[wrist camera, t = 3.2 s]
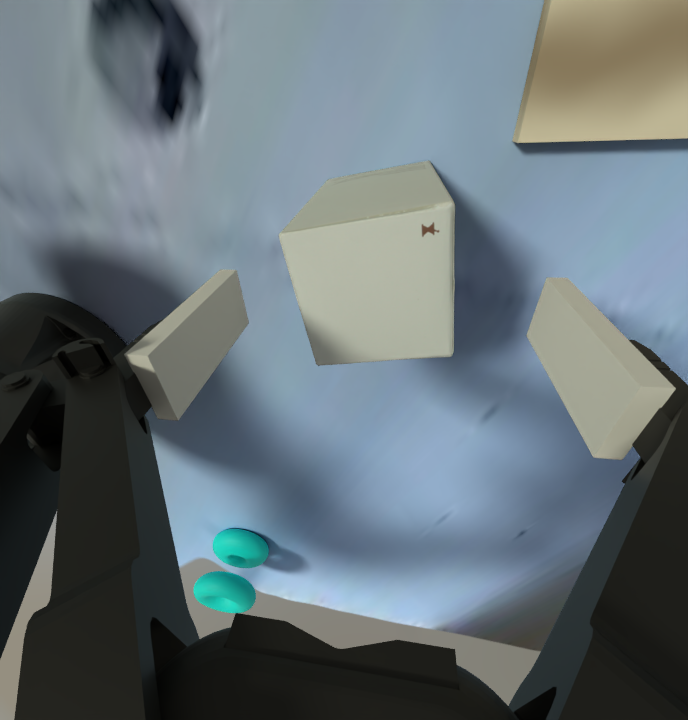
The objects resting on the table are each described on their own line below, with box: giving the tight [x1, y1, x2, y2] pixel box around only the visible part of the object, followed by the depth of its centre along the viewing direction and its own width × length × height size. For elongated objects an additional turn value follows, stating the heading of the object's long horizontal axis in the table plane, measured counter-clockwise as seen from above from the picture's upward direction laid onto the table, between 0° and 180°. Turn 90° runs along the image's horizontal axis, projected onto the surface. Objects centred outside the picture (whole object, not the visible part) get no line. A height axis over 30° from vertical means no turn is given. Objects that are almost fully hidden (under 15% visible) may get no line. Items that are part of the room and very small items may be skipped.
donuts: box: [194, 529, 269, 613], centre depth 57 cm, size 10×10×10 cm
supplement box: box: [279, 161, 455, 366], centre depth 20 cm, size 7×7×13 cm
